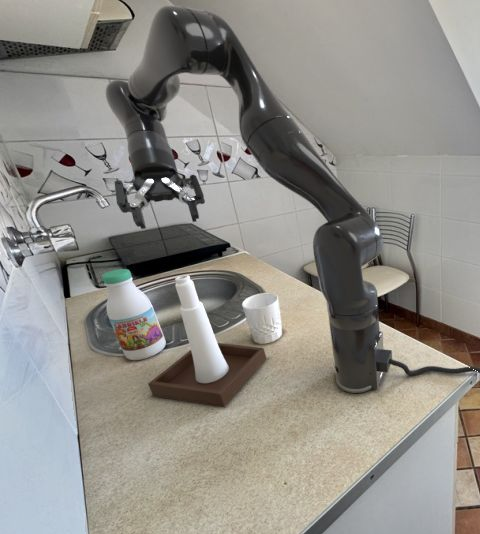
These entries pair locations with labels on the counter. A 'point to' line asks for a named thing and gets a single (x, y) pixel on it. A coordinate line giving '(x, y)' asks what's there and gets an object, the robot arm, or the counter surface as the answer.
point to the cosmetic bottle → (200, 334)
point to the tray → (215, 393)
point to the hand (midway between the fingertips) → (169, 223)
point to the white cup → (263, 317)
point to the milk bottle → (132, 316)
